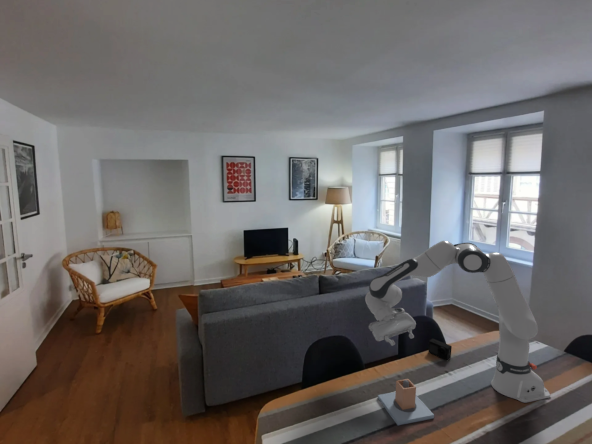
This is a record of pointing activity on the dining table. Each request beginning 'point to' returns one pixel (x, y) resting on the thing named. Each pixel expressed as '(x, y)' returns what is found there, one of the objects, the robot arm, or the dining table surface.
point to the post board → (405, 415)
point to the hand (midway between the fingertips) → (403, 340)
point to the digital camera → (440, 349)
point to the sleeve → (405, 395)
